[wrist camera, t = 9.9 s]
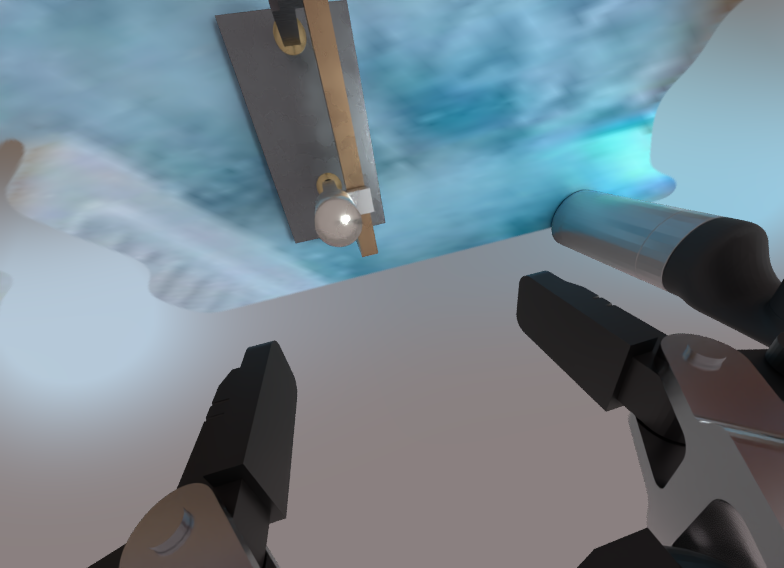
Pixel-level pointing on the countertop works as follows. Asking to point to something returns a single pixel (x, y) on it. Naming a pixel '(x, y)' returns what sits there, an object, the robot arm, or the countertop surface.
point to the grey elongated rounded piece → (341, 213)
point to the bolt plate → (306, 105)
